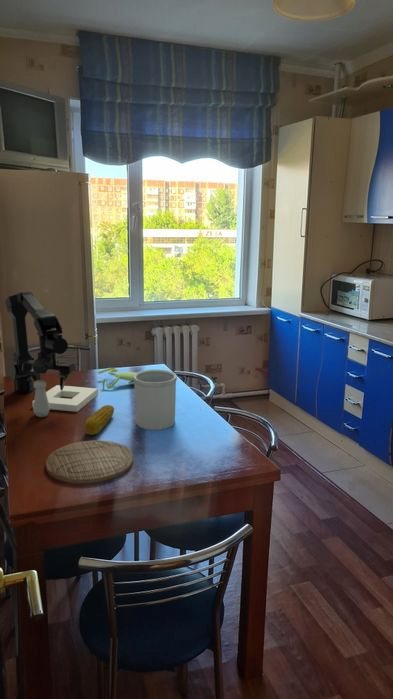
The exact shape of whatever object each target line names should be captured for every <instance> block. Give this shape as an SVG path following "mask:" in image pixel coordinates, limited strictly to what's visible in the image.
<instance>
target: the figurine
mask: <svg viewBox="0 0 393 699" xmlns="http://www.w3.org/2000/svg"><path fill="white" fill-rule="evenodd" d="M118 371H119V369H118V368H116V367H107V368H105V369H104V368H103V370H102V369H101V370H99V371H98V375H100V374H103V373H105V372H108V374H109V375H111V376H114V377H116V378H115V380H114V381H112V383H111V384H110V385H109V383H108V379H107V378H103V380H102V391H105V385H106V389H108V390H109V389H112V388H113V387H114V386H115V385H116V384H117V383H118V382H119V380H124V381H128V384H131V383H134V375H135V374H136V373H137V372H131V371H130V372H129V371H128V372H118ZM116 372H118V373H116ZM105 382H106V384H105Z"/></svg>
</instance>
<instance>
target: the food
mask: <svg viewBox="0 0 393 699" xmlns="http://www.w3.org/2000/svg"><path fill="white" fill-rule="evenodd" d="M114 412H115V408H114V406H113V405H111V404H107V405H103V406H101V407H100V408H98V409H97V410H96V411H95V412H94V413H92V415H91V416H89V417H88V418H87V419H86V420H85V422H84V432H85V434H87V435H89V436H94V435H97V434H98V433H100V432H101V430H102V429H103V428H104V427H105V426H106V424H107V423H108V422H109V421H110V419H111V418H112V417H113V415H114Z"/></svg>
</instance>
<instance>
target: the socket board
mask: <svg viewBox="0 0 393 699" xmlns="http://www.w3.org/2000/svg"><path fill="white" fill-rule="evenodd" d="M46 394H47V398H48V402H49V406H50V410H52V411H53V410H56V411H62V412H63V411H65V412H66V411H67V412H73V413H74V412H77V413H78V412H79V411H80V410H81V409H82V408H84V407H85V406H86V405H87V404H88V403H90V402H91V401H92V400H94V398H96V397H97V396H98V395H99V388H95V387H94V388H93V387H85V386H84V387H83V386H82V387H81V386H74V385H73V386H71V385H64V388H63V390H61V389H60V384H57V385H55V386H54V387H52V388H49V390H47V391H46ZM31 403H32V408H33V407H34V400H32V402H31Z"/></svg>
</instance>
